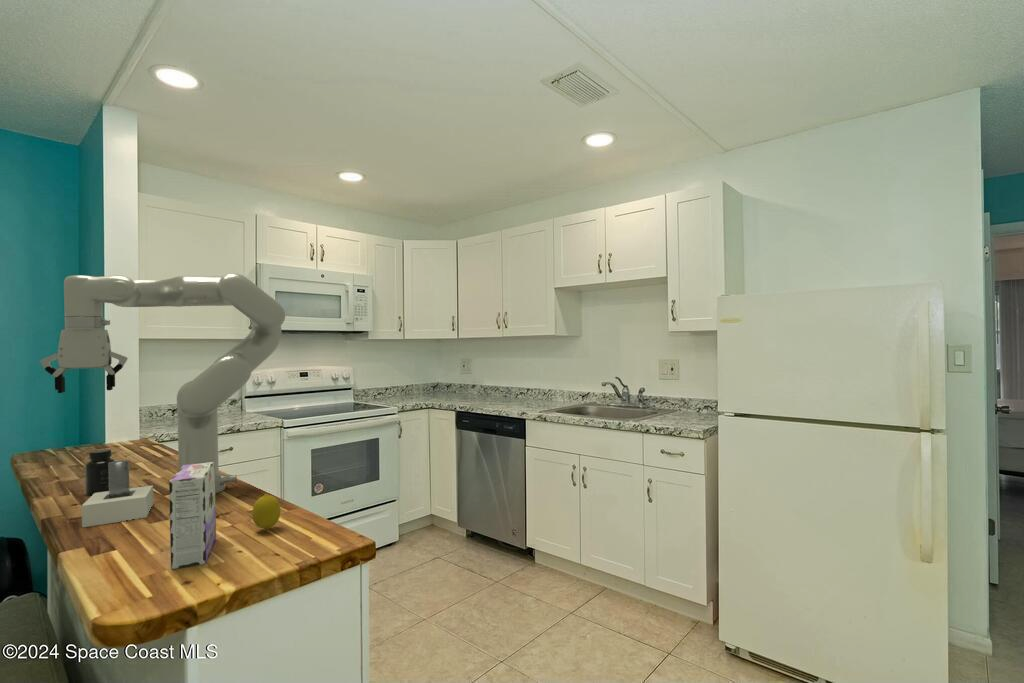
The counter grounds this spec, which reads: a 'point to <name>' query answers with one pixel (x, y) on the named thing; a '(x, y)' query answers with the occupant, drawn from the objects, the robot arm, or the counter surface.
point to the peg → (119, 479)
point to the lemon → (266, 512)
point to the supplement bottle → (98, 471)
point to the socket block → (117, 507)
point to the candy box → (192, 515)
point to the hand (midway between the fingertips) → (86, 391)
